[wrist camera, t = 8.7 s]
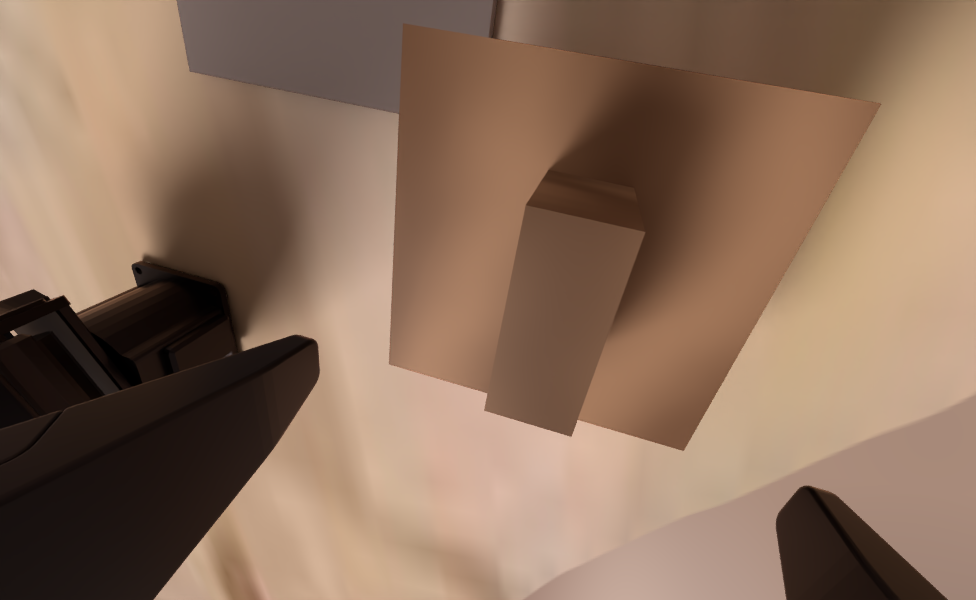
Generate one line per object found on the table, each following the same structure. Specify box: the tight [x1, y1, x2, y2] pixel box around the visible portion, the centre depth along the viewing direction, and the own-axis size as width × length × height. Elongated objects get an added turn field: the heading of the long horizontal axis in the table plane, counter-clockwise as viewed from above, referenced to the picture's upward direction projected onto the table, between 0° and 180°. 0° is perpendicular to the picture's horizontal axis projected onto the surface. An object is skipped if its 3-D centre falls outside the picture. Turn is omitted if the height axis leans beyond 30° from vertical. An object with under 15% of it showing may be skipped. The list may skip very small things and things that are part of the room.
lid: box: [389, 23, 881, 451], centre depth 12 cm, size 12×12×5 cm
